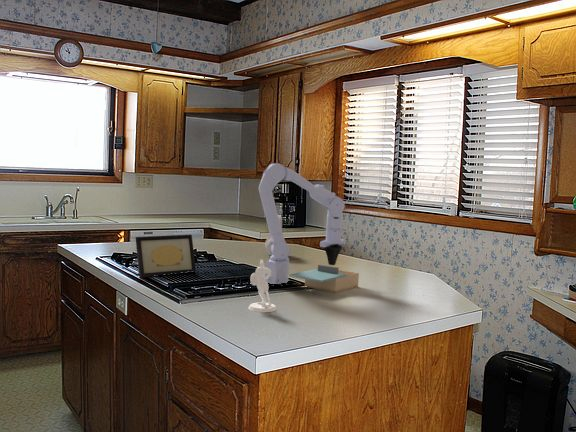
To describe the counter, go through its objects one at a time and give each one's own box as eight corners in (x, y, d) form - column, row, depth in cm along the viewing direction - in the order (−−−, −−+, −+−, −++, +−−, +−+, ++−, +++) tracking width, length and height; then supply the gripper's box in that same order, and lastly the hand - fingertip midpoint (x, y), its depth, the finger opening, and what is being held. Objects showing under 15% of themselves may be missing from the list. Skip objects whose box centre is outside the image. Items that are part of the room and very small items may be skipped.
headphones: (287, 259, 270) (289, 216, 268) (265, 258, 269) (267, 215, 267) (284, 253, 288) (286, 213, 286) (264, 252, 287) (266, 212, 286)
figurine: (242, 307, 176) (244, 258, 174) (263, 303, 182) (265, 256, 181) (261, 313, 170) (263, 262, 168) (283, 309, 176) (285, 260, 174)
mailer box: (335, 292, 203) (336, 278, 202) (304, 286, 210) (305, 273, 210) (358, 286, 215) (358, 273, 215) (328, 281, 223) (329, 268, 223)
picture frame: (141, 278, 212) (140, 237, 212) (130, 276, 218) (129, 236, 218) (196, 273, 226) (195, 234, 226) (184, 271, 233) (183, 234, 233)
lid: (321, 282, 194) (321, 273, 194) (289, 276, 202) (289, 268, 202) (346, 276, 207) (346, 268, 207) (315, 270, 215) (315, 263, 215)
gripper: (332, 230, 207) (330, 268, 209) (353, 228, 219) (351, 264, 220) (316, 228, 212) (314, 265, 213) (337, 226, 223) (335, 261, 224)
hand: (331, 264), depth 217 cm, fingers closed
